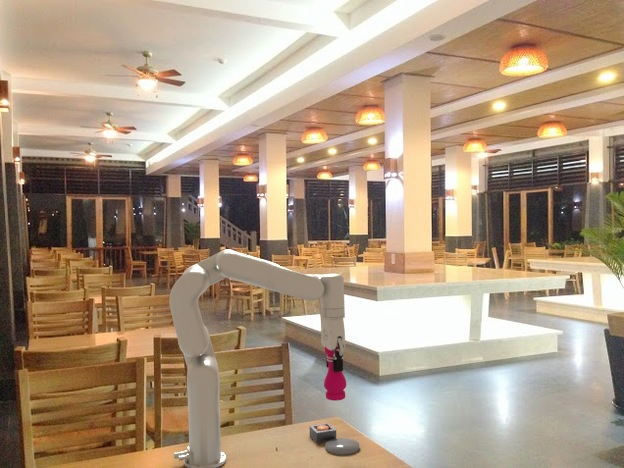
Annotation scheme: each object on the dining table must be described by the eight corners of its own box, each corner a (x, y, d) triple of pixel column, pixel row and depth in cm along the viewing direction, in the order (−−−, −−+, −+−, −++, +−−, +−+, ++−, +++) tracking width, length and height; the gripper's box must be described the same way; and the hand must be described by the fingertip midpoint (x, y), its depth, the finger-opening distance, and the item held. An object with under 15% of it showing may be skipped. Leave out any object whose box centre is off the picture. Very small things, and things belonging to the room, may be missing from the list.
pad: (332, 457, 176) (332, 454, 176) (320, 444, 186) (320, 441, 186) (365, 451, 179) (365, 448, 179) (351, 439, 190) (351, 436, 190)
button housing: (316, 443, 187) (316, 432, 186) (309, 435, 193) (309, 425, 193) (336, 440, 189) (336, 429, 189) (328, 432, 195) (328, 422, 195)
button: (319, 437, 188) (319, 430, 188) (315, 433, 192) (315, 426, 192) (330, 435, 190) (330, 428, 190) (326, 431, 194) (326, 424, 193)
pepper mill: (347, 393, 185) (345, 333, 184) (346, 401, 178) (344, 338, 177) (325, 394, 186) (323, 333, 185) (323, 401, 178) (321, 338, 178)
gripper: (313, 309, 188) (314, 364, 188) (331, 318, 171) (333, 377, 172) (334, 307, 190) (335, 361, 191) (354, 315, 174) (356, 374, 175)
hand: (334, 368), depth 181 cm, fingers closed on pepper mill, 5 cm apart
